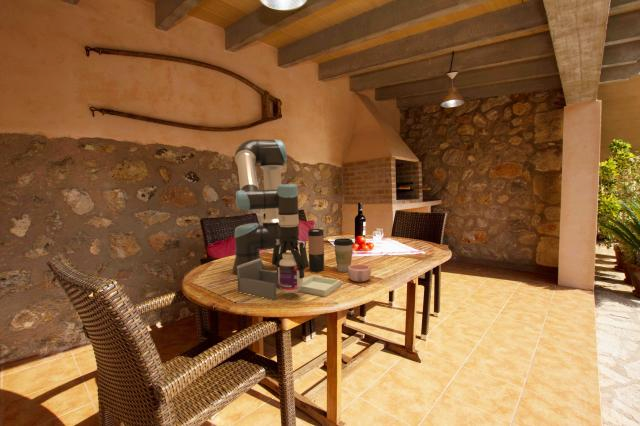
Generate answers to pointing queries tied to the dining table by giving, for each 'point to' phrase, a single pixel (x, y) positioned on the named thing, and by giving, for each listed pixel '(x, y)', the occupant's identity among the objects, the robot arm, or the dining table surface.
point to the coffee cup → (343, 253)
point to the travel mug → (316, 250)
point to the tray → (319, 286)
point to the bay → (257, 280)
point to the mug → (359, 272)
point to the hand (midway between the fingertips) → (290, 284)
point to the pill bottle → (288, 273)
